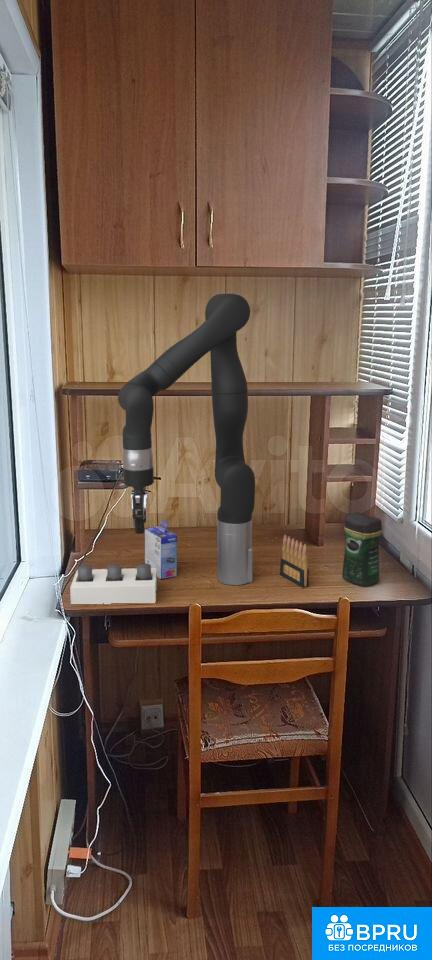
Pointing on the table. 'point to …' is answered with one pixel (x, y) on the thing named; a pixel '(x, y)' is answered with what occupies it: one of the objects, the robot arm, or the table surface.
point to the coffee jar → (361, 549)
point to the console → (114, 588)
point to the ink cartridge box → (161, 550)
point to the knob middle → (114, 572)
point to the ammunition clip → (294, 562)
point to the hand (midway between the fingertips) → (140, 527)
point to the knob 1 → (85, 573)
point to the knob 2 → (144, 571)
